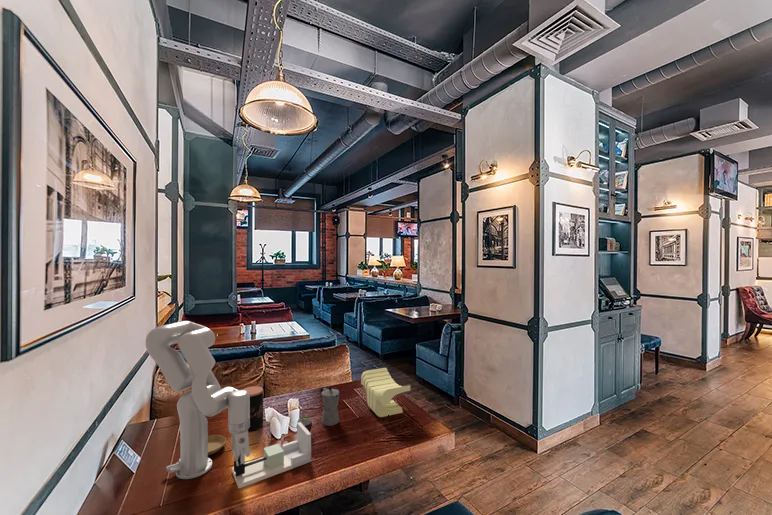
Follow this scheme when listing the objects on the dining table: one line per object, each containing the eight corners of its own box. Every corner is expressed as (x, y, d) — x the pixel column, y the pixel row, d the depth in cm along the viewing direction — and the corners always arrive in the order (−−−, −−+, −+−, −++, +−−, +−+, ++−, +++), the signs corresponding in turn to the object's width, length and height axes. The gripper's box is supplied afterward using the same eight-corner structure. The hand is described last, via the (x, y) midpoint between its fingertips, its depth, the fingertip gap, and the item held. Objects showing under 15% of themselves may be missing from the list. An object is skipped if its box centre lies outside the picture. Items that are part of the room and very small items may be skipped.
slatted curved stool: (361, 402, 195) (361, 371, 195) (386, 397, 202) (386, 367, 202) (382, 425, 168) (382, 390, 168) (410, 419, 174) (410, 385, 174)
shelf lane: (238, 488, 123) (238, 457, 123) (232, 471, 133) (231, 442, 133) (311, 461, 139) (311, 433, 139) (300, 447, 149) (300, 422, 149)
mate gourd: (305, 430, 163) (305, 399, 163) (316, 436, 158) (316, 404, 158) (292, 436, 158) (292, 405, 158) (303, 442, 153) (303, 410, 153)
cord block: (238, 480, 125) (238, 466, 125) (234, 470, 131) (234, 457, 131) (283, 463, 135) (283, 451, 135) (278, 455, 141) (278, 443, 141)
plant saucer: (183, 462, 138) (183, 455, 138) (193, 443, 152) (193, 437, 152) (222, 456, 142) (222, 450, 142) (228, 438, 156) (228, 433, 156)
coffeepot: (345, 422, 171) (345, 387, 171) (330, 429, 164) (329, 392, 164) (328, 412, 182) (328, 379, 182) (313, 418, 175) (313, 384, 175)
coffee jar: (247, 434, 160) (247, 396, 160) (235, 427, 166) (235, 391, 166) (267, 425, 168) (267, 389, 168) (255, 419, 175) (255, 384, 175)
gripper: (254, 430, 124) (254, 480, 124) (244, 413, 137) (244, 458, 137) (232, 437, 120) (232, 488, 120) (224, 418, 133) (224, 465, 133)
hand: (239, 472), depth 129 cm, fingers closed on cord block, 2 cm apart
